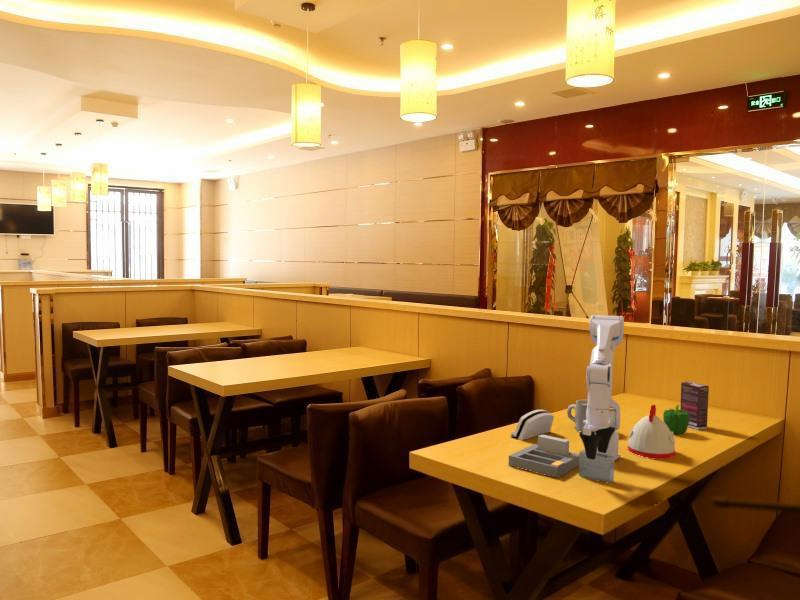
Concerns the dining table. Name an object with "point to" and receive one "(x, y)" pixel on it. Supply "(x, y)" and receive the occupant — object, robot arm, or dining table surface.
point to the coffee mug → (578, 413)
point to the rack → (546, 457)
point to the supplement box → (695, 404)
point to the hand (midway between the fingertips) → (596, 455)
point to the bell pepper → (676, 420)
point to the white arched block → (533, 424)
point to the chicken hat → (652, 438)
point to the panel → (597, 467)
